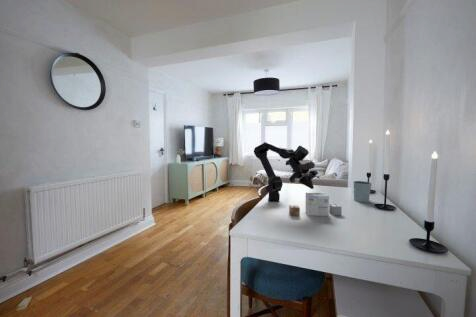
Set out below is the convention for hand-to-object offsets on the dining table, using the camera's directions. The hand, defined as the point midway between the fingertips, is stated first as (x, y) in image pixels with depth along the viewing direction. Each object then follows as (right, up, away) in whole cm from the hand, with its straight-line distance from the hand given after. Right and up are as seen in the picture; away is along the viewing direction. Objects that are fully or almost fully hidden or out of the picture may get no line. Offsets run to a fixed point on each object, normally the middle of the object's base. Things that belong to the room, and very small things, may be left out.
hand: (312, 188), depth 115 cm
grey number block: (+12, -13, -1) cm, 18 cm away
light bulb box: (+1, -14, -1) cm, 14 cm away
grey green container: (+40, -11, +25) cm, 48 cm away
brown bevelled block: (-11, -13, -2) cm, 17 cm away
